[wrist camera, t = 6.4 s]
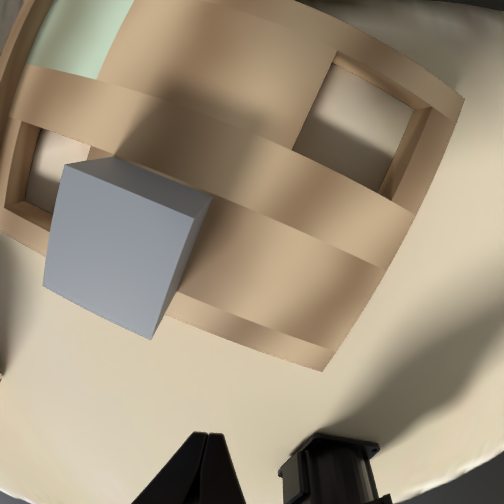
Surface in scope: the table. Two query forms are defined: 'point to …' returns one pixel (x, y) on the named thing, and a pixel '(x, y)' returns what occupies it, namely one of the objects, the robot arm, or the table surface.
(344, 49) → the wooden cubby shelf
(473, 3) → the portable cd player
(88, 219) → the block
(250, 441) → the table surface
